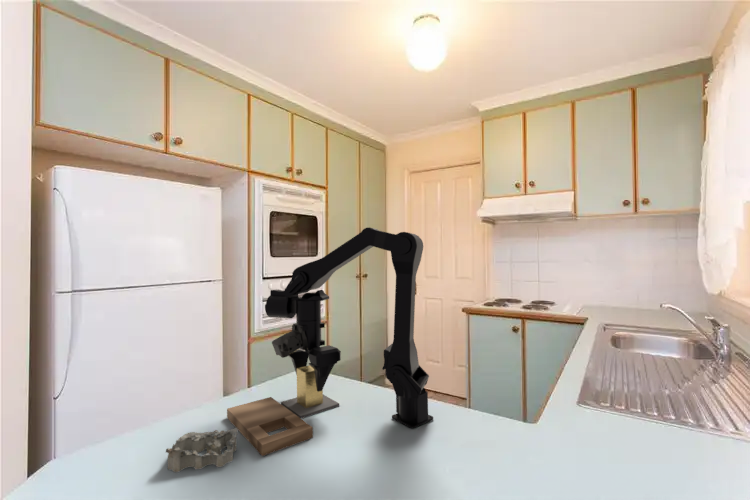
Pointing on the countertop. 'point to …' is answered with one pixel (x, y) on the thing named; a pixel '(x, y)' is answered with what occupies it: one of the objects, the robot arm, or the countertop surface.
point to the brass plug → (307, 388)
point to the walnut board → (269, 425)
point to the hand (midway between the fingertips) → (309, 385)
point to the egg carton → (198, 443)
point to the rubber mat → (305, 412)
